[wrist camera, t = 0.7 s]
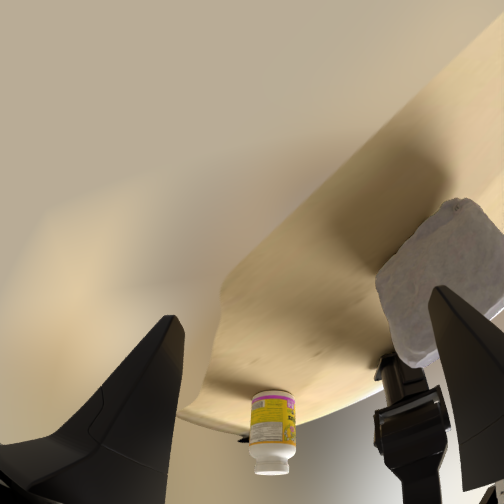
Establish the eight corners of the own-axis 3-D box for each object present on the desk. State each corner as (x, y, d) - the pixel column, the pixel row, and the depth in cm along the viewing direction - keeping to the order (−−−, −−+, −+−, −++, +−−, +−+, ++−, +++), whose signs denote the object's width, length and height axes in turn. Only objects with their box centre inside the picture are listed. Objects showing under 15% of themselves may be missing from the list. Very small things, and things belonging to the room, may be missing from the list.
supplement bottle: (293, 404, 41) (294, 475, 30) (253, 404, 41) (249, 475, 31) (295, 388, 37) (297, 470, 27) (250, 388, 37) (244, 470, 27)
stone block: (391, 292, 25) (422, 381, 17) (360, 272, 23) (391, 371, 15) (476, 209, 18) (541, 284, 10) (454, 175, 17) (533, 250, 9)
